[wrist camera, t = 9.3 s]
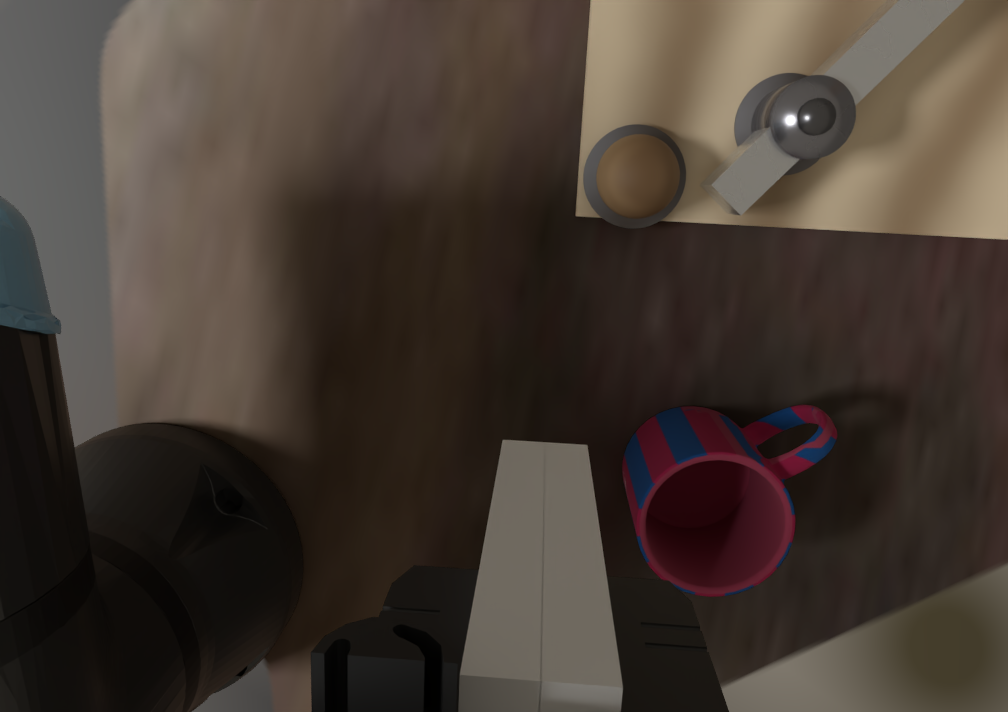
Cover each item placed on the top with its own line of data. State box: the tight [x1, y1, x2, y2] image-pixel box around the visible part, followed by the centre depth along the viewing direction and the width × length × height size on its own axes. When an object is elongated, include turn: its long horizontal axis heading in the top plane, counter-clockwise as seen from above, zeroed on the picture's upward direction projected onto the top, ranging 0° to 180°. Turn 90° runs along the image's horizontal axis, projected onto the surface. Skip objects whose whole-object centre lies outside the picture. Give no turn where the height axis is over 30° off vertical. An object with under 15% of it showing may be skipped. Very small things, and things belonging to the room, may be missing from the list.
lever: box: [700, 0, 965, 216], centre depth 30 cm, size 3×16×4 cm, turn 136°
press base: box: [575, 0, 1008, 239], centre depth 32 cm, size 20×16×5 cm
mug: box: [622, 405, 837, 597], centre depth 35 cm, size 7×10×7 cm
